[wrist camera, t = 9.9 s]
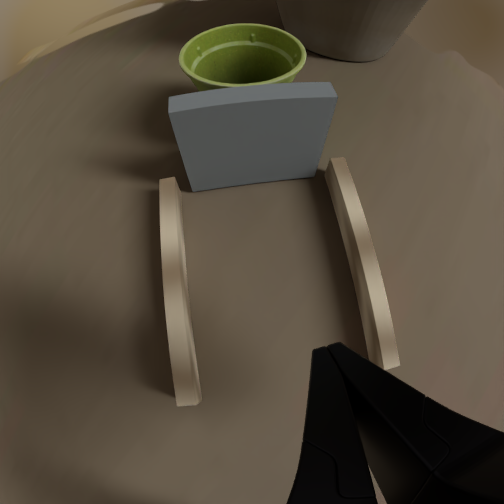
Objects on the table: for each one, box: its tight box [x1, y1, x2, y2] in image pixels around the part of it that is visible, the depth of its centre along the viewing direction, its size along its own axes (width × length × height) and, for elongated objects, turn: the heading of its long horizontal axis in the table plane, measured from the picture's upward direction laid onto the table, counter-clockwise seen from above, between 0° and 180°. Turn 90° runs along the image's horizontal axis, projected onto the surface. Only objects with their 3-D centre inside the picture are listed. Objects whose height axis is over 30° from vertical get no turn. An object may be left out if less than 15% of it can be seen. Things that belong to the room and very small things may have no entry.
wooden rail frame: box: [159, 157, 400, 406], centre depth 21 cm, size 16×14×2 cm
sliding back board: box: [168, 82, 338, 192], centre depth 21 cm, size 4×10×9 cm, turn 98°
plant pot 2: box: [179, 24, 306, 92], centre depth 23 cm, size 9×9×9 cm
